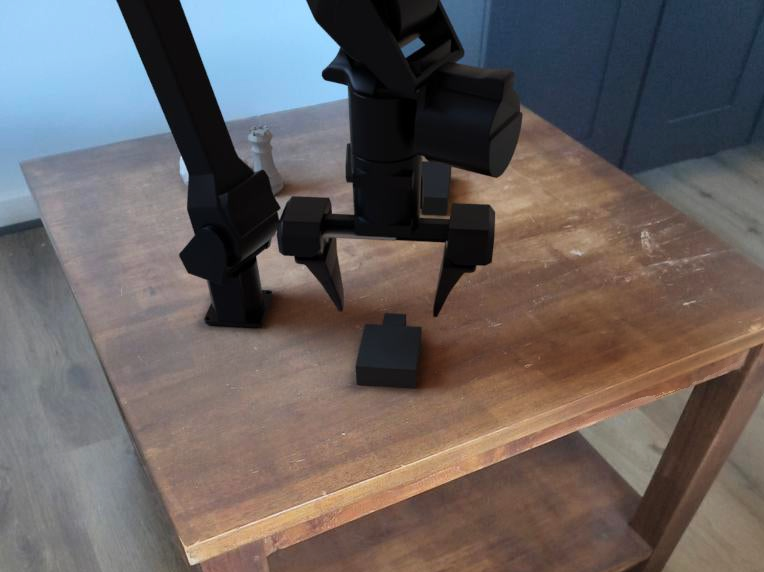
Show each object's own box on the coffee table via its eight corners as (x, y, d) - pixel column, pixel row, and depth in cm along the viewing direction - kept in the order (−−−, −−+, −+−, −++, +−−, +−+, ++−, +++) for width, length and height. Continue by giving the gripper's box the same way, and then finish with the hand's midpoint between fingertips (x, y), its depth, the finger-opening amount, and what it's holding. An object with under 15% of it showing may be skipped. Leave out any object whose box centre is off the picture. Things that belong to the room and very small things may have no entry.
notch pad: (446, 215, 94) (447, 197, 92) (370, 212, 95) (370, 194, 93) (450, 179, 100) (451, 162, 98) (379, 176, 101) (379, 159, 99)
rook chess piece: (278, 198, 97) (270, 137, 91) (247, 196, 98) (237, 135, 92) (288, 183, 100) (280, 122, 94) (257, 180, 101) (248, 120, 95)
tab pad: (415, 388, 72) (415, 369, 70) (356, 384, 72) (355, 366, 71) (422, 333, 78) (423, 314, 76) (368, 330, 78) (367, 311, 76)
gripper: (504, 109, 62) (486, 270, 74) (291, 102, 63) (308, 261, 75) (502, 169, 55) (483, 337, 67) (263, 159, 56) (287, 325, 68)
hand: (388, 311), depth 70 cm, fingers open, 9 cm apart
